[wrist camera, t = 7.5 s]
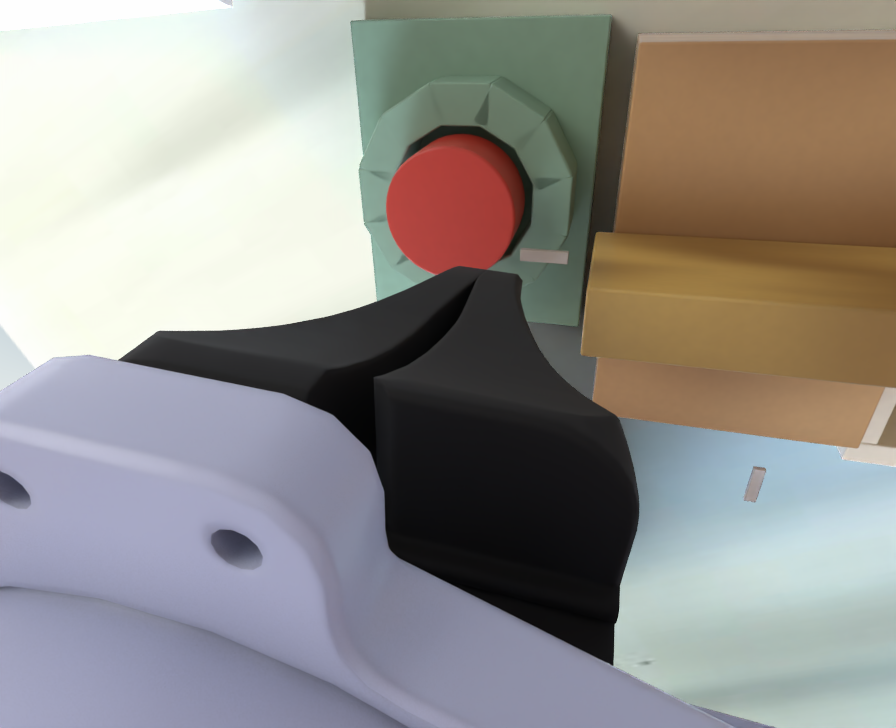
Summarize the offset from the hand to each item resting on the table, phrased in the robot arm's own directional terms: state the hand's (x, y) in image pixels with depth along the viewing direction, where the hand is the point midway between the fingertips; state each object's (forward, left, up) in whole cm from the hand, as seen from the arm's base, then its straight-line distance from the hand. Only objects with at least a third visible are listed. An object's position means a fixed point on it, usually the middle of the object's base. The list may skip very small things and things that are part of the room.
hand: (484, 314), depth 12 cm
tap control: (0, +2, -10) cm, 11 cm away
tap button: (0, +2, -8) cm, 8 cm away
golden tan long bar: (-1, -8, -6) cm, 10 cm away
